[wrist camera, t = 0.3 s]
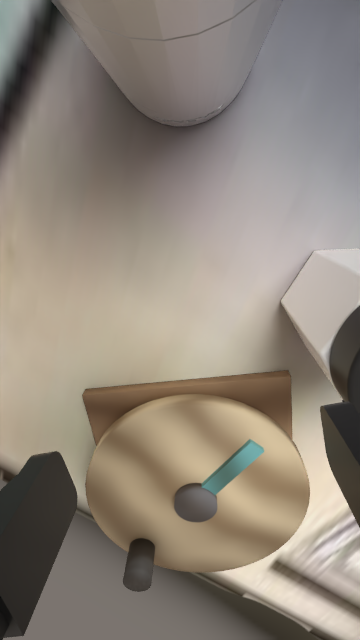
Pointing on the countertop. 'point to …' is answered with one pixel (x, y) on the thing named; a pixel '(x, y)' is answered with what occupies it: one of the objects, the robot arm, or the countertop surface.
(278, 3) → the robot arm
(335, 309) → the jar
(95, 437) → the mount
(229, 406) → the handwheel
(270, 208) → the countertop surface
